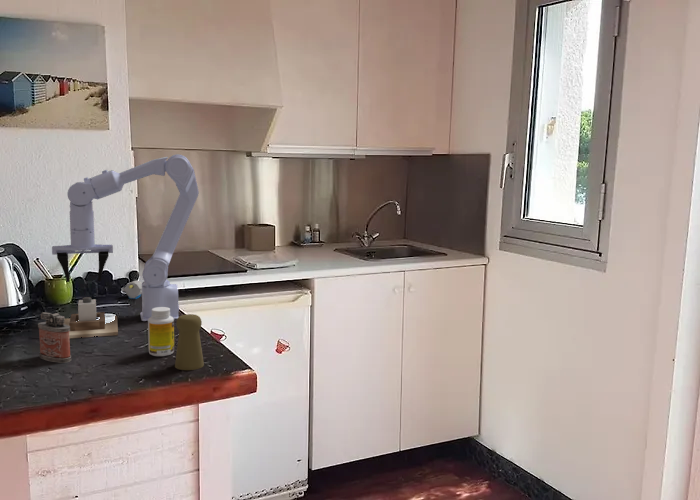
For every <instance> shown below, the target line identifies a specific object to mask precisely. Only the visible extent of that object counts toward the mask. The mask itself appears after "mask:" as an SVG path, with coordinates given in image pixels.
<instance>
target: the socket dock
mask: <svg viewBox="0 0 700 500" xmlns="http://www.w3.org/2000/svg"><path fill="white" fill-rule="evenodd" d="M105 316H106V312H104V311H103V312H99V311H98V312H96V317H100V319H99V320H94V321H78V320H79V314H78V313H71V314H70V318H64V324H65V325H68V326H70V330H69V337H70V339H80V338H81V337H82V338H95V337H96V336H98V337H111V336H119V327H118V315H114V316H115V320H114V321H112V322H110V323H106V324H105ZM76 321H77V322H76ZM94 336H95V337H94ZM82 338H81V339H82ZM96 338H97V337H96Z"/></svg>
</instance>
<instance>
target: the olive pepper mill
mask: <svg viewBox="0 0 700 500" xmlns="http://www.w3.org/2000/svg"><path fill="white" fill-rule="evenodd" d="M175 322H176V323H175V325H176V329H177V330H178V338H177V345H176V352H175V353H176V354H175V361H174V362H175V363H174V368H175V369H177V370H180V371H194V370H195V371H196V370H199V369H203V367H204V366H205V362H204V355H203V349H202V342H201V336H200V335H201V334H200V329H201V328H202V319H201V317H200V316H199V315H197V314H192V313H187V314H182V315H180V316H178V319H176V321H175Z"/></svg>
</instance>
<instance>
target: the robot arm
mask: <svg viewBox="0 0 700 500" xmlns="http://www.w3.org/2000/svg"><path fill="white" fill-rule="evenodd" d="M166 174H167V175H168V177H169V178H170V179H171V180H172V181H173V182H174V183H175V186H176V188H177V190H178V193H179V195H178V198H177V199H176V202H175V205H174V206H173V209H172V210H171V213H170V216H169V218H168V221H167V222H166V224H165V228H164V230H163V232H162V234H161V237H160V239H159V241H158V243H157V246H156V247H155V250H154V252H153V254H152V256H151V257H150V258H149V259H147V261H145V263H144V266H143V270H142V275H141V276H142V279H143V282H142V294H141V306H142V307H141V309H142V311H141V312H140V313H139V314H140V320H141V321H142V322H148V319H149V318H150V317H152V309H153V308H156V307H168V308H170V316H172V317H173V318H174V320H177V319H178V317H179V311H180V305H179V289H178V284H177V283H170V282H171V281H170V280H168V279H167V278H168V276H169V275H168V272H169V265H170V262H171V260H172V257H173V254H174V253H175V249H176V248H177V245H178V243H179V241H180V238H181V236H182V234H183V231H184V229H185V226H186V224H187V222H188V220H189V218H190V215H191V213H192V211H193V209H194V206H195V203H196V201H197V199H198V197H199V193H200V191H199V187H198V182H197V177H196V173H195V170H194V167H193V166H192V164H191V162H190V160H189V159H188V158H187V157H186V156H185V155H183V154H179V153H178V154H177V153H176V154H173V155H171V156H170V157H168V156H165V157H160V158H159V157H158V158H155V159H151V160H149V161H147V162H144V163H142V164H139V165H136V166H134V167H131V168H129V169H126V170H124V171H121V172H118V171H115V170H112V169H111V170H109V171H108V169H105V170H104V169H103V170H102V171H101V174H97V175H96V176H92V177H88V176H86V177H84V178H83V181H79V182H75V183H74V184H72V185H70V186H69V188H68V190H67V199H68V200H69V210H70V211H69V231H70V244H69V245H53V246H51V254H52V256H54V255H56V259H57V260H58V263H59V265H60V267H61V268H62V270H63V271H62V272H63V273H64V276H65V282H66V283H70V281H71V280H70V270H69V255H72V254H75V255H76V254H98V274H97V276H98V277H97V278H98V281H99V282H100V281H101V282H102V276H103V272H104V268H105V265H106V262H107V261H108V259H109V255H110V254H113V253H114V247H113V244H99V243H98V244H95V219H94V217H95V215H94V210H93V209H94V208H93V205H94V203H93V200H100V199H104V198H106V197H108V196H111V195H114V194H116V193H119V192H121V191H122V190H123V187H124V185H126V184H129V183H132V182H135V181H137V180H141V179H144V178H147V177H150V176H151V175H157V176H162V177H164V176H165V175H166Z"/></svg>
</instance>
